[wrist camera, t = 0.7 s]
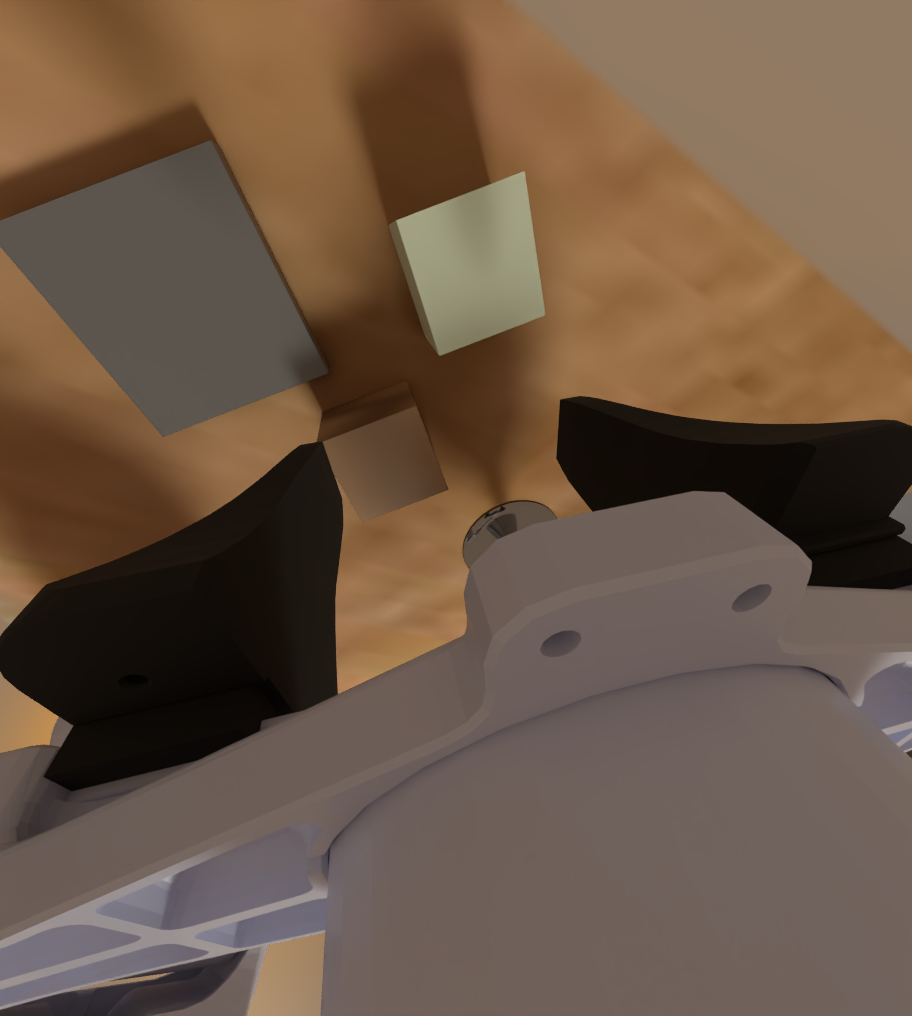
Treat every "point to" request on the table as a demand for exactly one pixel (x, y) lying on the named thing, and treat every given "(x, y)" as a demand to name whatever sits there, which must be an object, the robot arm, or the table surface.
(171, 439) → the table surface
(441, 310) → the sage cube
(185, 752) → the robot arm
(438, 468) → the walnut block
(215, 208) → the slate board
